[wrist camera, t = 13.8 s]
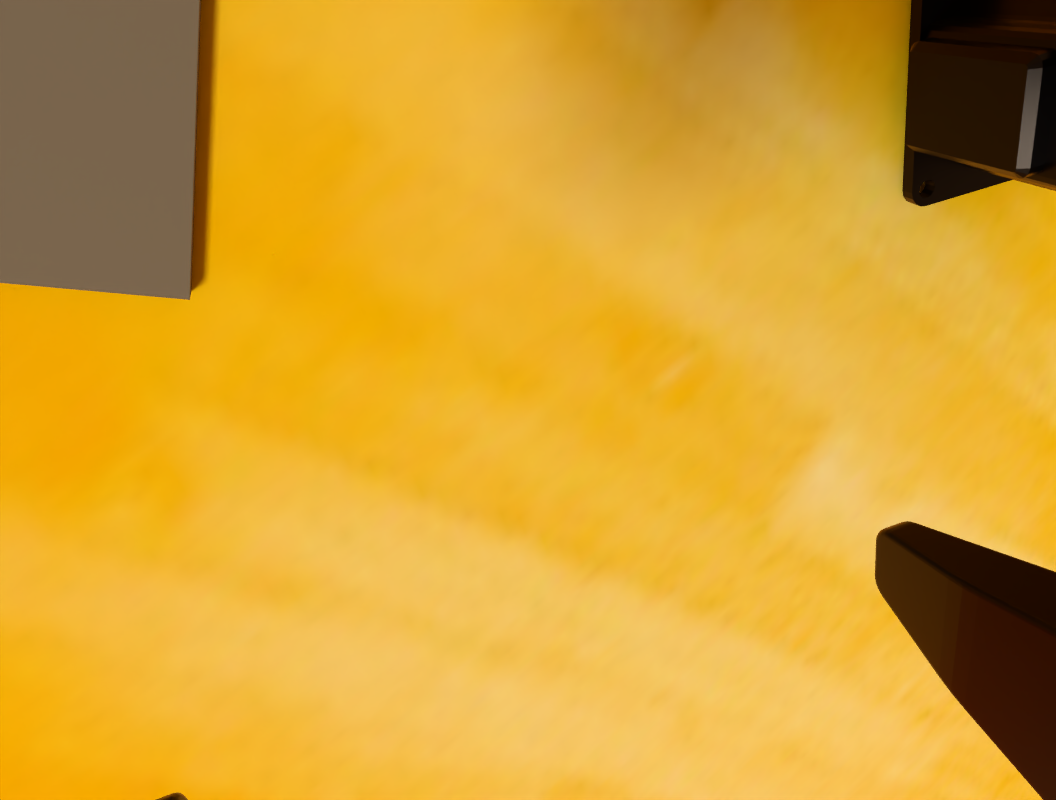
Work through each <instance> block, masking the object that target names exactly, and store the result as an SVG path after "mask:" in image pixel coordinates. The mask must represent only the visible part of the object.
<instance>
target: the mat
mask: <svg viewBox="0 0 1056 800" xmlns="http://www.w3.org/2000/svg"><path fill="white" fill-rule="evenodd" d="M200 11H201V0H0V283H10V284H21V285H32V286H43V287H55V288H66V289H77V290H88V291H99V292H110V293H121V294H132V295H143V296H155V297H166V298H177V299H188V300H190V295H191V278H192V248H193V219H194V189H195V159H196V130H197V100H198V71H199V41H200Z"/></svg>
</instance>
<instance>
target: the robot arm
mask: <svg viewBox="0 0 1056 800" xmlns="http://www.w3.org/2000/svg"><path fill="white" fill-rule="evenodd" d="M1010 180H1017V181H1021V182H1024V183H1028V184H1032V185H1035V186H1039V187H1043V188H1047V189H1050V190H1054V191H1056V0H911V19H910V41H909V63H908V85H907V107H906V128H905V150H904V172H903V196H904V198H905V199H906V201H908V202H910V203H913V204H916V205H918V206H927V205H930V204H934V203H937V202H940V201H944V200H947V199H950V198H954V197H957V196H960V195H964V194H967V193H970V192H973V191H977V190H980V189H983V188H987V187H990V186H993V185H997V184H1000V183H1003V182H1007V181H1010ZM924 182H925V187H924V189H923V190H922V192H921V193H920V192H919V191H920V187H921V185H922V184H923V183H924ZM875 579H876V584H877V586H878V589H879V591H880V593H881V594H882V596H883V598H884V599H885V600H886V602H887V603H888V605H889V606H890V607H891V609H892V610H893V612H894V613H895V615H896V616H897V617H898V619H899V620H900V622H901V623H902V625H903V626H904V627H905V629H906V630H907V632H908V633H909V634H910V636H911V637H912V639H913V640H914V642H915V643H916V644H917V646H918V647H919V649H920V650H921V652H922V653H923V654H924V656H925V657H926V659H927V660H928V661H929V663H930V664H931V666H932V667H933V669H934V670H935V671H936V673H937V674H938V676H939V677H940V678H941V680H942V681H943V682H944V684H945V685H946V686H947V688H948V689H949V690H950V692H951V693H952V694H953V695H954V697H955V698H956V699H957V700H958V701H959V703H960V704H961V705H962V706H963V707H964V709H965V710H966V711H967V712H968V713H969V714H970V716H971V717H972V718H973V719H974V720H975V721H976V723H977V724H978V725H979V726H980V727H981V728H982V729H983V731H984V732H985V733H986V734H987V735H988V736H989V738H990V739H991V740H992V741H993V742H994V743H995V744H996V746H997V747H998V748H999V749H1000V750H1001V751H1002V753H1003V754H1004V755H1005V756H1006V757H1007V758H1008V759H1009V761H1010V762H1011V763H1012V764H1013V765H1014V766H1015V768H1016V769H1017V770H1018V771H1019V772H1020V773H1021V775H1022V776H1023V777H1024V778H1025V779H1026V780H1027V781H1028V783H1029V784H1030V785H1031V786H1032V787H1033V788H1034V790H1035V791H1036V792H1037V793H1038V794H1039V795H1040V796H1041V798H1042V799H1043V800H1056V572H1054V571H1051V570H1048V569H1046V568H1043V567H1040V566H1037V565H1034V564H1031V563H1028V562H1026V561H1023V560H1020V559H1017V558H1014V557H1011V556H1008V555H1006V554H1003V553H1000V552H997V551H994V550H991V549H988V548H985V547H983V546H980V545H977V544H974V543H971V542H968V541H965V540H963V539H960V538H957V537H954V536H951V535H948V534H945V533H943V532H940V531H937V530H934V529H931V528H928V527H925V526H923V525H920V524H917V523H913V522H908V521H907V522H901V523H899V524H896V525H893V526H890V527H888V528H885V529H883V530H881V531H880V532H879V533H878V535H877V538H876V561H875ZM156 800H187V798H186V797H185V796H184V795H183V794H181V793H172V794H170V795H167V796H164V797H162V798H159V799H156Z"/></svg>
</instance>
